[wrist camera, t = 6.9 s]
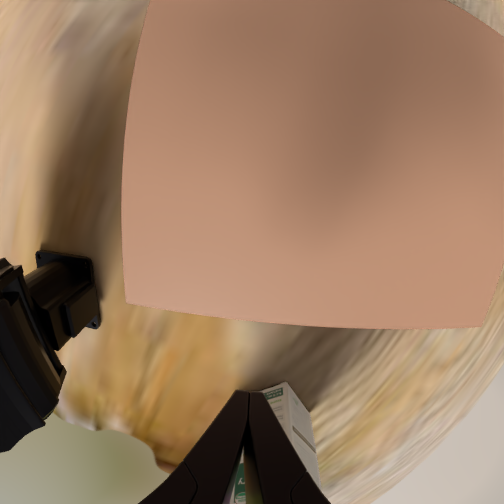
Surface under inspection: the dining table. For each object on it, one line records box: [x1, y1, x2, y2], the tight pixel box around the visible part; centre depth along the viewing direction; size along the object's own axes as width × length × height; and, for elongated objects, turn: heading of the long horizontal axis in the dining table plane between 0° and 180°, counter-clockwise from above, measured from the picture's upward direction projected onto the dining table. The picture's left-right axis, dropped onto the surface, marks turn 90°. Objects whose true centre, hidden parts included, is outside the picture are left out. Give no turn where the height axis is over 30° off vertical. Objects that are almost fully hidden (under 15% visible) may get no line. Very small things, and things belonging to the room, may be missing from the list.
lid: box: [121, 0, 504, 329], centre depth 11 cm, size 20×19×2 cm
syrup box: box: [229, 382, 322, 504], centre depth 17 cm, size 6×6×14 cm
